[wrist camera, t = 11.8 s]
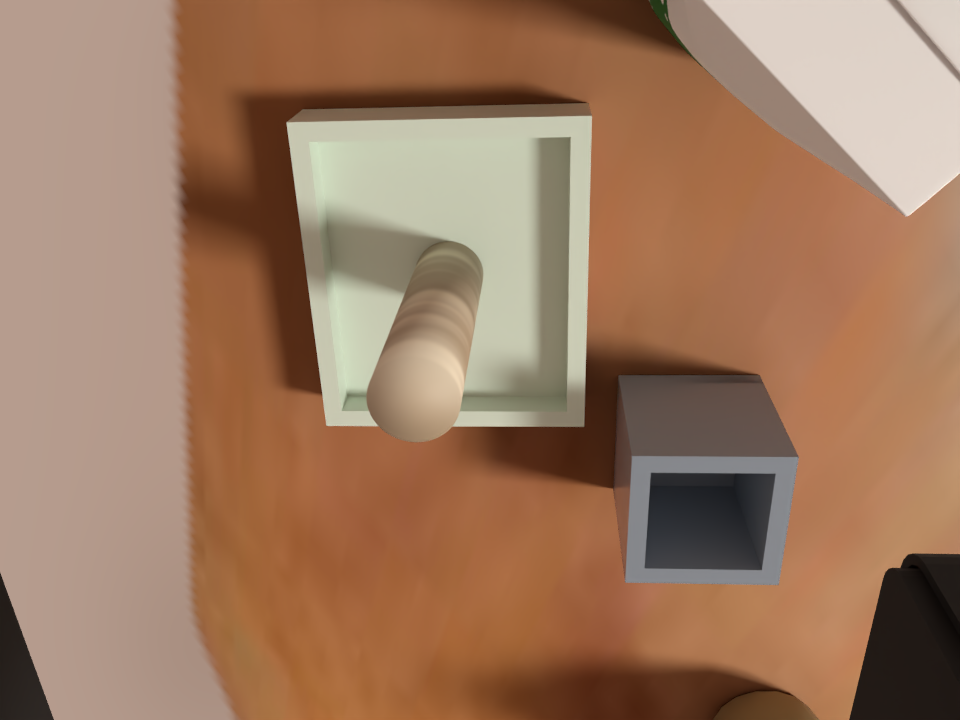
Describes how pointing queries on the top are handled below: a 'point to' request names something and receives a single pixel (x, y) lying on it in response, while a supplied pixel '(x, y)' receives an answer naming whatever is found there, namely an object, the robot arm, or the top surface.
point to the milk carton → (841, 81)
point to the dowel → (428, 346)
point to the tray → (458, 218)
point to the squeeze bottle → (765, 707)
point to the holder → (701, 480)
